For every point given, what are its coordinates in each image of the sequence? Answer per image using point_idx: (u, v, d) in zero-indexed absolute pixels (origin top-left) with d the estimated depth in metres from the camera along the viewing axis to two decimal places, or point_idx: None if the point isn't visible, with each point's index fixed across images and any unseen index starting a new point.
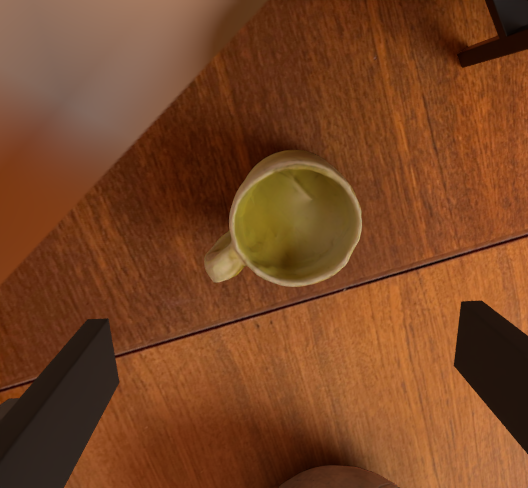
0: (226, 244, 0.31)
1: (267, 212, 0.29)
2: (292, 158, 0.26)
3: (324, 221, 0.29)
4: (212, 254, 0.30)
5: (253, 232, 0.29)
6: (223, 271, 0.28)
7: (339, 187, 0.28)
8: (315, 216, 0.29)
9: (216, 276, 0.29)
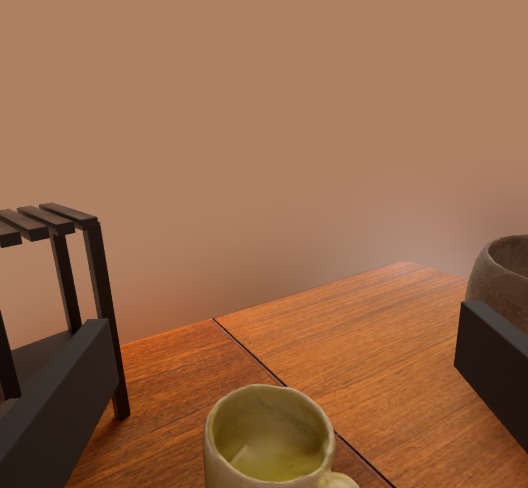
0: None
1: (269, 479, 0.26)
2: (204, 448, 0.26)
3: (264, 430, 0.30)
4: None
5: None
6: (346, 485, 0.24)
7: (228, 424, 0.31)
8: (261, 438, 0.30)
9: None
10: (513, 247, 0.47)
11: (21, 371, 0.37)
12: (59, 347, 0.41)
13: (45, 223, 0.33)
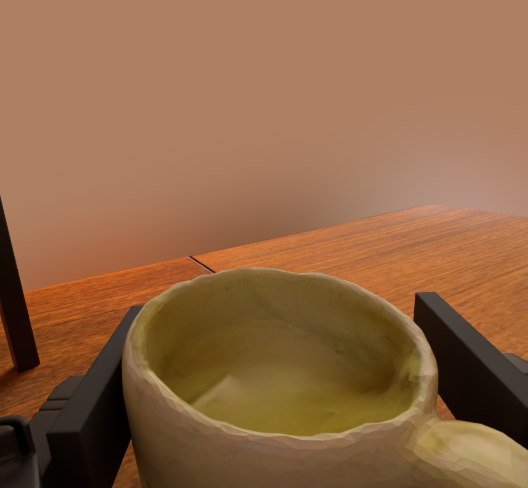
0: None
1: None
2: (122, 363, 0.11)
3: (269, 353, 0.15)
4: None
5: None
6: (501, 451, 0.08)
7: (198, 341, 0.15)
8: (262, 365, 0.14)
9: None
10: None
11: None
12: None
13: None
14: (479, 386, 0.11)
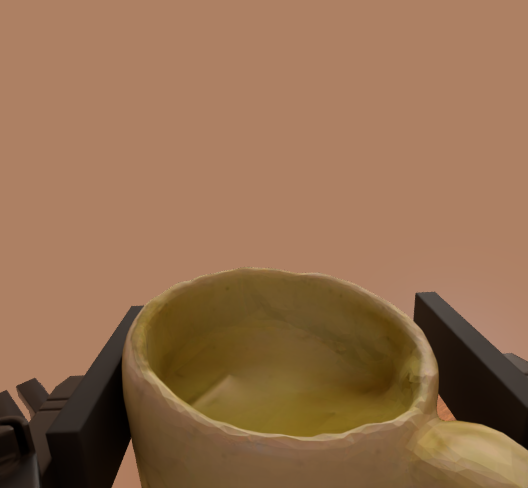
0: None
1: None
2: (122, 364, 0.11)
3: (269, 353, 0.15)
4: None
5: None
6: (501, 452, 0.08)
7: (198, 341, 0.15)
8: (262, 365, 0.14)
9: None
10: None
11: None
12: None
13: None
14: (480, 386, 0.11)
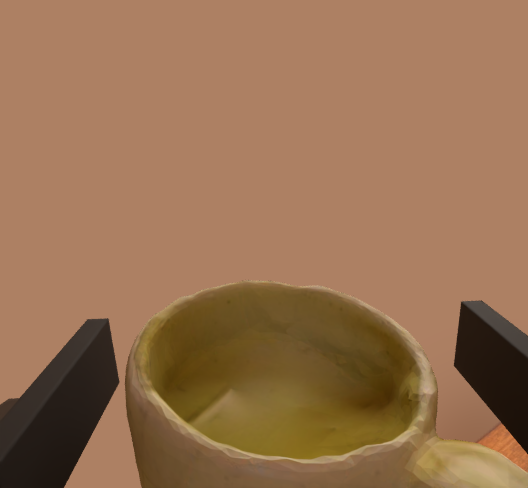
0: None
1: None
2: (126, 382, 0.11)
3: (270, 366, 0.15)
4: None
5: None
6: (499, 473, 0.08)
7: (200, 354, 0.15)
8: (263, 379, 0.14)
9: None
10: None
11: None
12: None
13: None
14: None
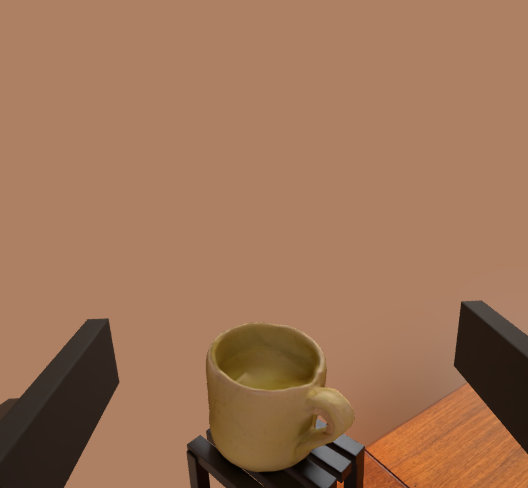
0: (316, 433, 0.27)
1: None
2: (207, 368, 0.29)
3: (263, 362, 0.33)
4: (328, 429, 0.26)
5: None
6: (332, 395, 0.27)
7: (230, 357, 0.34)
8: (259, 368, 0.33)
9: (342, 402, 0.26)
10: None
11: None
12: None
13: (312, 457, 0.31)
14: None
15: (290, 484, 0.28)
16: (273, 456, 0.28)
